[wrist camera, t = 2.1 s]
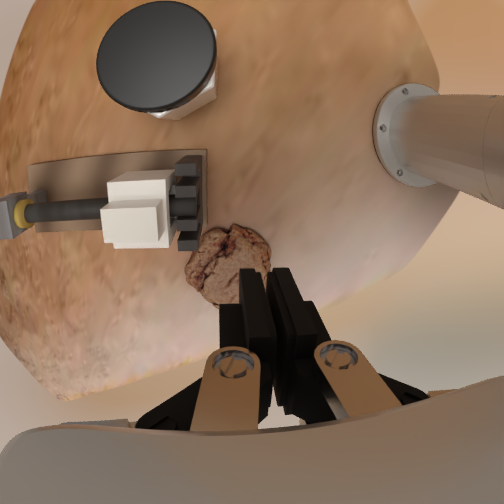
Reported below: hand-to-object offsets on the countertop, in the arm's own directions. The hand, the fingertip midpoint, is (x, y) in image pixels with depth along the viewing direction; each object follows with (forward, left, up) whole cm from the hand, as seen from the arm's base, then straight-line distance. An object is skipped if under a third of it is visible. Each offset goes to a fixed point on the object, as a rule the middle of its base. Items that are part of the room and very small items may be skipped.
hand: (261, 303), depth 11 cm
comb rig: (+13, 0, -22) cm, 26 cm away
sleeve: (+8, 0, -17) cm, 19 cm away
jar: (+6, -12, -22) cm, 26 cm away
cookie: (0, +9, -23) cm, 24 cm away
